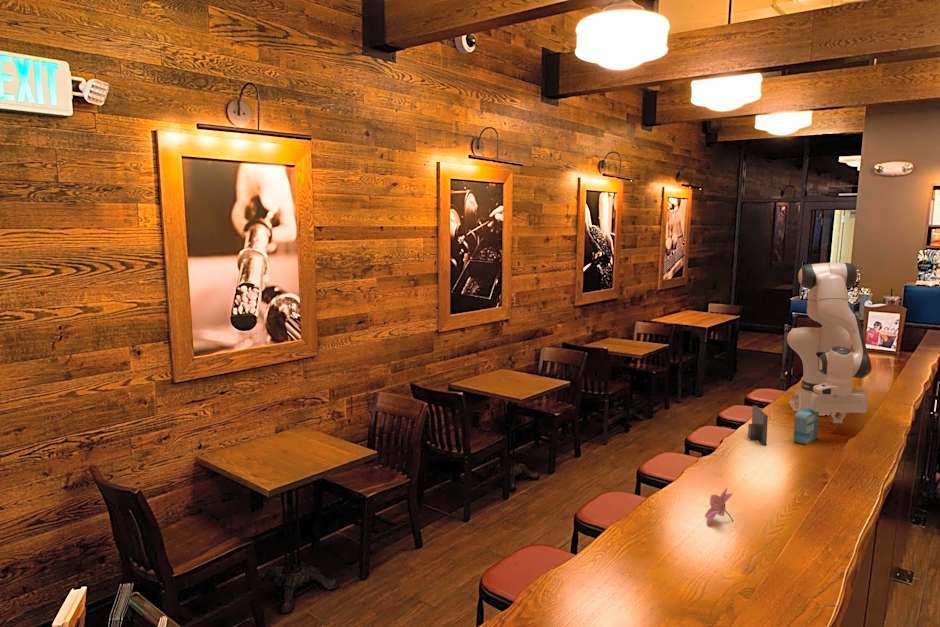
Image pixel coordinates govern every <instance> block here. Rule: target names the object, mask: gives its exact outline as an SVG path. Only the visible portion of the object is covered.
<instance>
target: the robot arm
mask: <svg viewBox="0 0 940 627" xmlns="http://www.w3.org/2000/svg"><path fill="white" fill-rule="evenodd" d="M797 276H798V277H797V278H798V282H799V284H800V286H801V287H803V288H806V289H808V291H807V292H808V294H807V305H806V314H807V316H808V318H810V320H813V321H814V322H817V323H819V324H820V325H821V327H810V326H809V327H806V326H804V327H803V326H802V327H794V328H791V330H790V331H789V332H788V333H787V337H786V342H787V344H788V346H789V347H790V348H791V349H792V350H793V351H794V352H795V353H796V354H797V355H798V356H799V358H800V359H801V362H802V368H803V370H802V371H803V372H802V373H803V375H802V376H803V377H802V380H801V383H800V384H801V385H800V388H798V389H797V391H795V392H794V394H792V400H789V401H788V404H789V406H790V407H791V409H792V411H793V412H796V413H797V412H799V411H801V410H803V409H805V408H808V409H811V410H812V411H814V412H819V415H818V417H819V416H822V417H823V416H824V417H825V415H827V416H831V418H832V423H833V424H843V420H844V418H845V417H846V415H847V413H849V414H865V413H867V412H868V401H867V400H868V395H869V394H868V392H867V391H866V390H865V389H863V388H860V389H859V388H853V385H854V383H853V382H854V381H853V378H856V379H864V378H866V377H867V376H868V375H869V374H871V373H872V362H871V357H870V356H869V353H868V349H867V346H866V341H865V337H864V333H863V328H862V325H861V322H860V321H861V320H860V319H859V316H858V315H857V314H856V313H855V312H853V311H852V309H851V308H850V306H849V296H848V289H847V288H851V287H853V286H855V284H856V283H857V281H858V276H859V273H858V270H857V267H856V266H855V264H854V263H850V262H843V263H842V262H820V263H807V264H803V265H802V266H801V267H800V269H799V271H798V274H797ZM851 347H852V349H851ZM852 350H853V351H852ZM817 353H822V354H821V355H820V356H819V357H818V355H817ZM837 413H839V414H840V415H839V417H836V415H837Z"/></svg>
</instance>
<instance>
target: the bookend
mask: <svg viewBox="0 0 940 627" xmlns="http://www.w3.org/2000/svg"><path fill="white" fill-rule="evenodd" d="M751 412H752V414H751V415H752V416H751V423H748V424H747V426H748V430H747V438H748V440H749V439H750V440H749V441H757V440H758V443H760V444H761V445H762V446H767V439H768V421H769V420H768V419H769V416H768V415H767V414H766V413H765V412H764V411H763V410H762V409H761V408H760V407H759V406H758V405H752V411H751Z"/></svg>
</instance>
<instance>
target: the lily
mask: <svg viewBox="0 0 940 627" xmlns="http://www.w3.org/2000/svg"><path fill="white" fill-rule="evenodd" d="M727 491H728V487H726V488H725V489H724V490H723V491H722V492H721V494H720V495H718V494H711V495H710V497H709V506H710V508H709V509H708V510H707V512H706V513H705V515H704V517H707V516H708V517H707V520H706V526H709V524H710V523H711V522H712V520H713V518H715V516H717V515H718V516H719V517H725V513H726V514H727V515H728V516H729V518H730V519H731V521H732V522H734V519H733V518H732V516H731V515H730V513H729V512H728V511H727V510H726V502H727V501H728V500H729V499H730V498H731V497H732V496H733V493H727Z"/></svg>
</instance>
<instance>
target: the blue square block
mask: <svg viewBox="0 0 940 627" xmlns="http://www.w3.org/2000/svg"><path fill="white" fill-rule="evenodd" d="M818 415H819V412H814V411H812V410H811V409H808V408H805V409H803V410H801V411H799V412H796V413H795V414H794V424H793V442H794V443H797V444H798V443H799V444H803V445H808V444H809V443H811V442H813V441H815V440H816V439H817V438H818V433H819V432H818V431H819V430H818V428H819V416H818Z"/></svg>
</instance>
